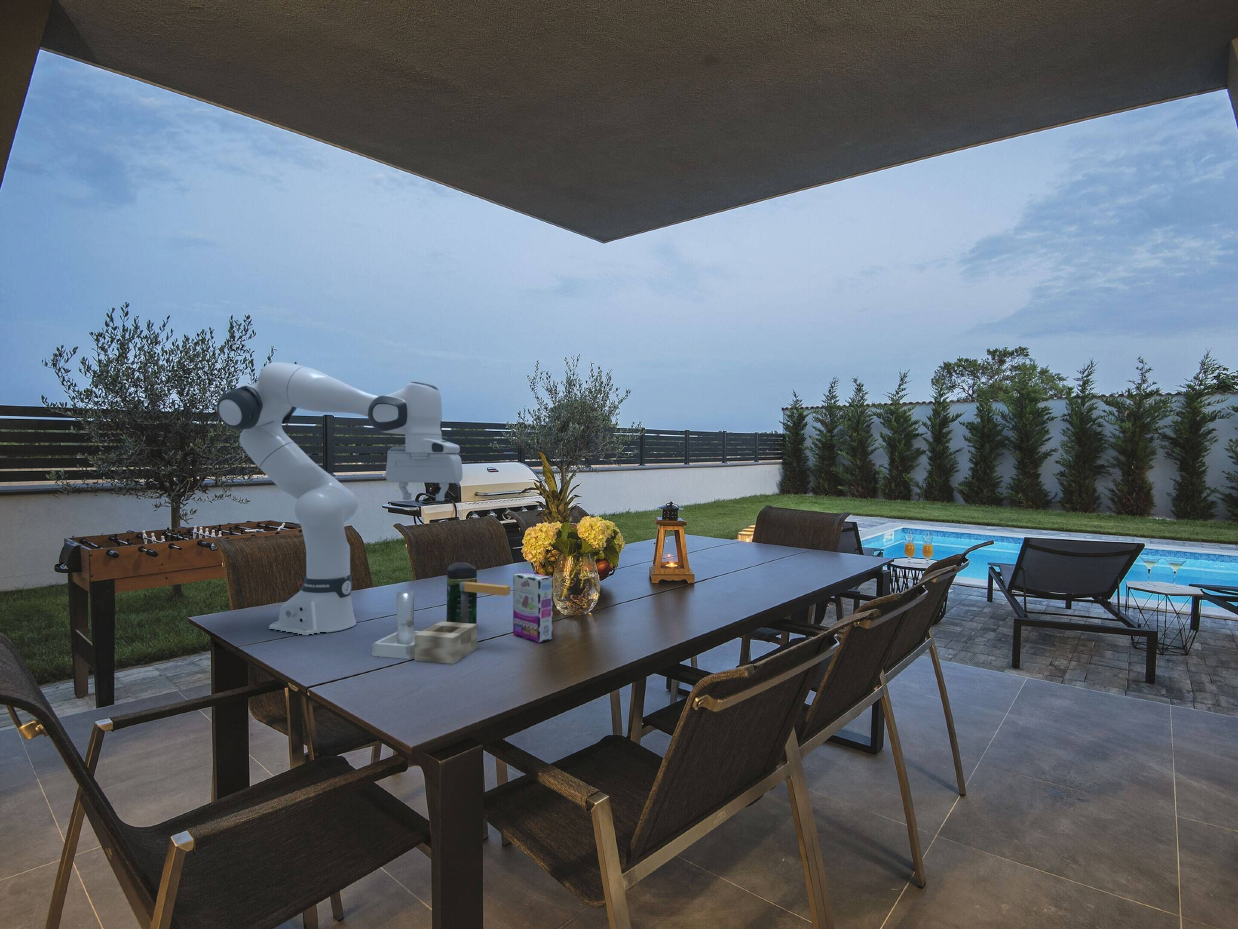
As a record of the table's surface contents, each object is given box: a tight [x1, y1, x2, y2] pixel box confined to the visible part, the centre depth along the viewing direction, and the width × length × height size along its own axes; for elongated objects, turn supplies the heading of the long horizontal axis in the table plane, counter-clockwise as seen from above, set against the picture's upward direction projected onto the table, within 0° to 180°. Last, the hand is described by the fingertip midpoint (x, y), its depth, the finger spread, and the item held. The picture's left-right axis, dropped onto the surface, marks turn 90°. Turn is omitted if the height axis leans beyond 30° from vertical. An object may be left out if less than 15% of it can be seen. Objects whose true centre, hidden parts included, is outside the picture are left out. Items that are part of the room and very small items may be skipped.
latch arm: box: [460, 582, 511, 597], centre depth 153 cm, size 2×14×2 cm, turn 67°
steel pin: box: [396, 590, 415, 645], centre depth 150 cm, size 4×4×13 cm
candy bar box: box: [512, 572, 554, 644], centre depth 161 cm, size 11×5×16 cm, turn 47°
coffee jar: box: [446, 561, 478, 625], centre depth 167 cm, size 10×8×19 cm
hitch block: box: [414, 591, 478, 665], centre depth 149 cm, size 10×17×13 cm, turn 167°
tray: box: [371, 630, 422, 660], centre depth 150 cm, size 10×12×3 cm
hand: (423, 500), depth 156 cm, fingers open, 8 cm apart
